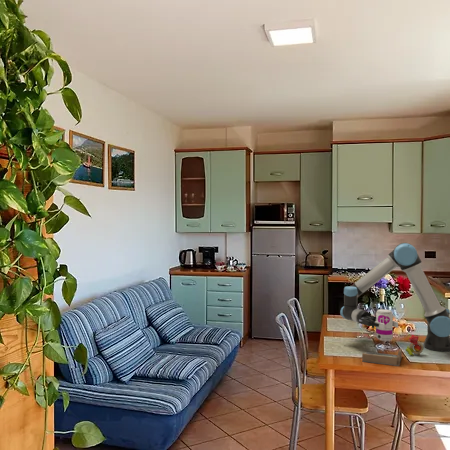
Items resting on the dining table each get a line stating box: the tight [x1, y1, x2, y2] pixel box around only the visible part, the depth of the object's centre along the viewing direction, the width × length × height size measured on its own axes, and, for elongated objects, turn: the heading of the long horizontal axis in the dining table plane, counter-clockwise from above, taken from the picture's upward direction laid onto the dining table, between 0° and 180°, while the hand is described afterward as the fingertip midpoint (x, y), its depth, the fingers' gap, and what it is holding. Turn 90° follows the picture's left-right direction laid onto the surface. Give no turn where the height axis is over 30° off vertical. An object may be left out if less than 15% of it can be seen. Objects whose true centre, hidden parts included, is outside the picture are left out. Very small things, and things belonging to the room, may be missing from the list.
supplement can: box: [375, 308, 394, 342], centre depth 236 cm, size 8×8×15 cm
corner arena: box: [361, 348, 403, 367], centre depth 238 cm, size 18×18×4 cm
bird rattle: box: [405, 334, 425, 357], centre depth 245 cm, size 6×11×9 cm
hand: (390, 325), depth 232 cm, fingers closed on supplement can, 8 cm apart
